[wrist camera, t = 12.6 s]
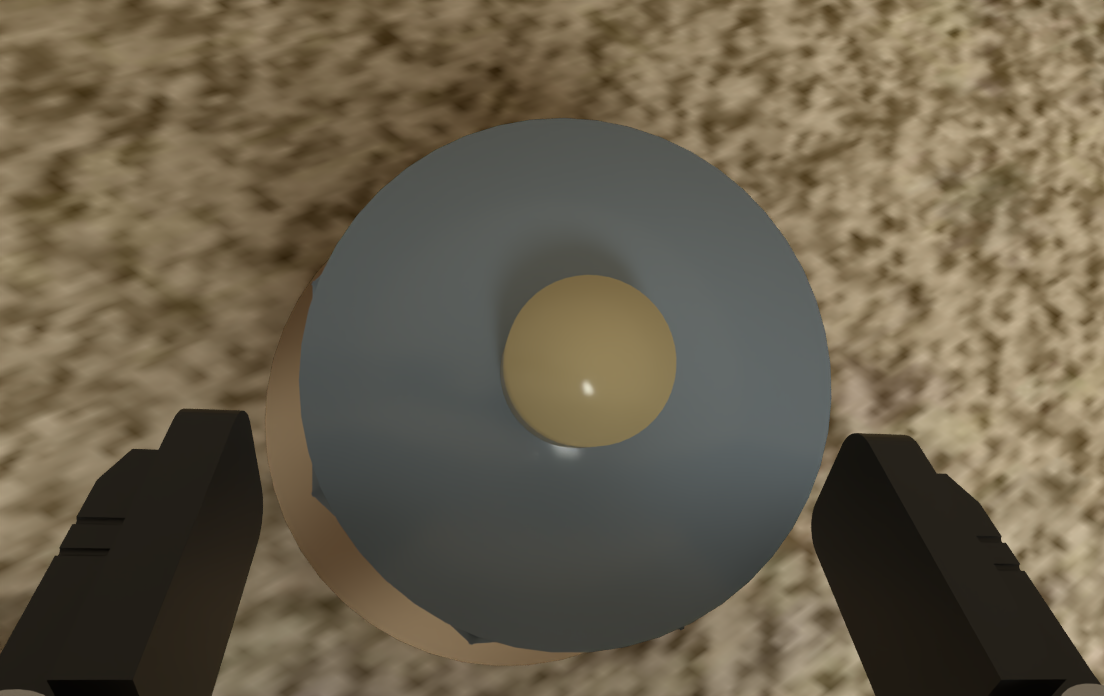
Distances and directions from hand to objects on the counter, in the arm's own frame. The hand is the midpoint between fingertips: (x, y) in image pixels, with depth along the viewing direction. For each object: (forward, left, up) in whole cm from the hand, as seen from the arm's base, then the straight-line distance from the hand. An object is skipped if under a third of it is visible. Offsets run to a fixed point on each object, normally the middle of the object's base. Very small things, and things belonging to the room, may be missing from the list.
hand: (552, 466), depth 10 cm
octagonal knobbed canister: (-1, +1, -8) cm, 9 cm away
